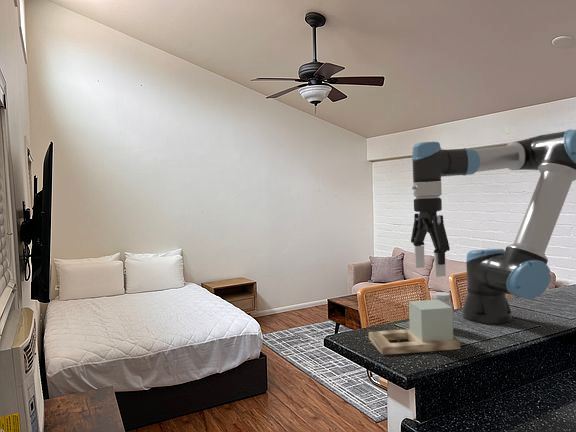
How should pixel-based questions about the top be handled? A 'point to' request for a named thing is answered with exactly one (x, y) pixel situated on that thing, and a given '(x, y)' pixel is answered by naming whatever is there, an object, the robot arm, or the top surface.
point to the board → (412, 346)
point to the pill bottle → (444, 299)
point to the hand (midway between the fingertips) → (429, 271)
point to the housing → (431, 320)
